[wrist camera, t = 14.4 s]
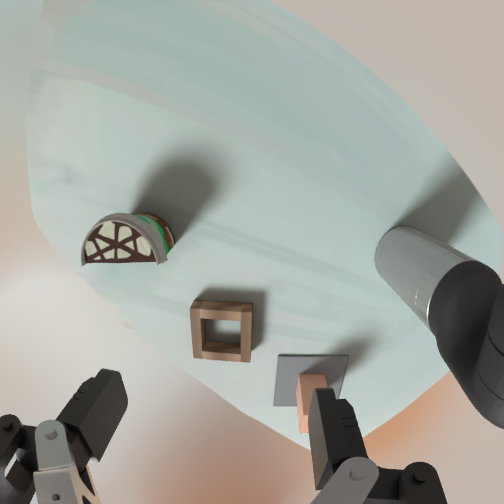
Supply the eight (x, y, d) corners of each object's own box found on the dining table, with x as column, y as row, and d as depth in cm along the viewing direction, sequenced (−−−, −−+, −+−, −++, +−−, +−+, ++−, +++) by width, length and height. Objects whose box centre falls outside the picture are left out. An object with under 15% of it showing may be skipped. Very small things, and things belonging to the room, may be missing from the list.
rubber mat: (348, 355, 46) (348, 356, 46) (335, 404, 50) (335, 405, 49) (278, 355, 47) (278, 356, 47) (273, 404, 50) (273, 406, 50)
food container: (181, 201, 41) (155, 211, 31) (184, 243, 43) (162, 265, 33) (108, 208, 42) (71, 219, 32) (112, 246, 43) (78, 266, 34)
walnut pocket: (252, 303, 45) (251, 312, 42) (251, 351, 47) (250, 362, 44) (194, 299, 45) (189, 308, 42) (197, 347, 47) (193, 357, 45)
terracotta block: (324, 374, 47) (333, 414, 38) (320, 392, 48) (327, 432, 39) (298, 374, 47) (303, 415, 38) (296, 392, 49) (299, 433, 39)
